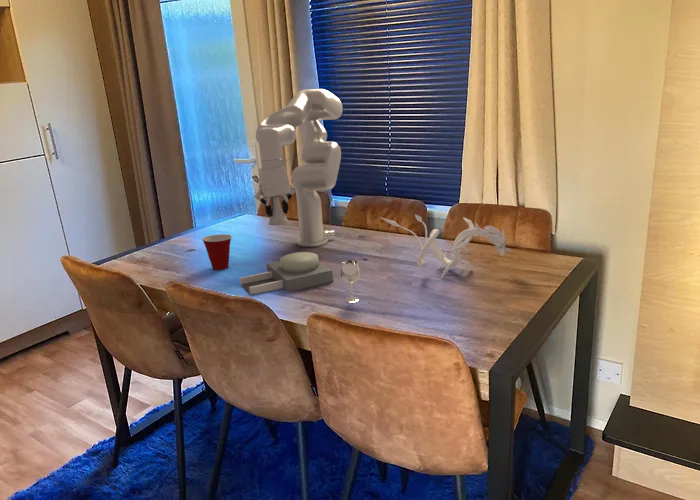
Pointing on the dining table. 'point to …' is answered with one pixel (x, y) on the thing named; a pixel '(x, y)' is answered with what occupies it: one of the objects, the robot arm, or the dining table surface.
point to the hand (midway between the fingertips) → (277, 213)
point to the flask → (277, 213)
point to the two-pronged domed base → (289, 274)
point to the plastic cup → (218, 250)
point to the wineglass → (350, 276)
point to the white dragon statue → (456, 243)
